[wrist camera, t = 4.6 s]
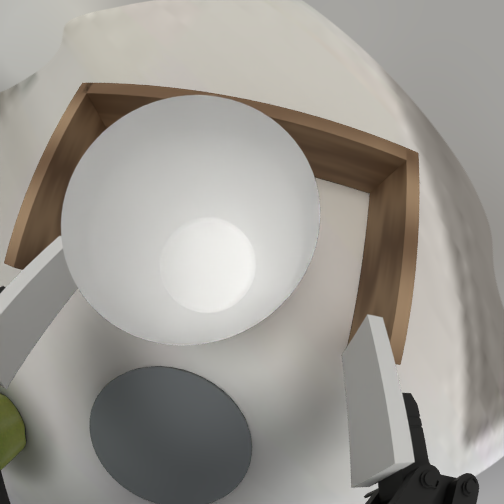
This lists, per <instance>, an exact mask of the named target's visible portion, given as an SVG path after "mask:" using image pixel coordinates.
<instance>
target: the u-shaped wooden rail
mask: <svg viewBox="0 0 504 504" xmlns="http://www.w3.org/2000/svg"><path fill="white" fill-rule="evenodd" d="M185 95H208V96H216V97H222V98H227V99H231V100H234V101H237V102H241V103H243V104H246V105H248V106H250V107H253V108H255V109H256V110H258V111H260V112H262V113H264V114H265V115H267V116H268V117H270V118H271V119H273V120H274V121H275V122H276V123H278V124H279V125H280V126H281V127H282V128H283V129H284V130H285V131H286V132H288V133H289V135H290V136H291V137H292V138H293V139H294V140H295V142H296V143H297V144H298V146H299V147H300V149H301V150H302V151H303V153H304V155H305V157H306V159H307V160H308V162H309V165H310V167H311V169H312V171H313V174H314V177H317V178H320V179H324V180H327V181H331V182H334V183H338V184H341V185H344V186H348V187H351V188H354V189H357V190H360V191H364V192H367V193H370V198H369V210H368V220H367V229H366V238H365V246H364V254H363V261H362V268H361V275H360V282H359V288H358V294H357V300H356V305H355V311H354V316H353V322H352V327H351V332H350V337H349V341H348V345H349V343H350V341H351V340H352V338H353V337H354V335H355V334H356V332H357V330H358V329H359V327H360V326H361V324H362V322H363V321H364V319H365V317H366V316H367V314H368V315H373V316H378V317H383V321H384V324H385V328H386V331H387V335H388V338H389V342H390V346H391V349H392V353H393V357H394V361H395V364H398V365H400V364H401V360H402V355H403V350H404V345H405V340H406V335H407V329H408V323H409V317H410V310H411V304H412V296H413V288H414V280H415V270H416V259H417V246H418V228H419V157H418V153H417V152H415V151H413V150H410V149H408V148H405V147H403V146H401V145H398V144H396V143H393V142H390V141H388V140H385V139H383V138H380V137H377V136H375V135H372V134H369V133H366V132H363V131H361V130H358V129H355V128H352V127H349V126H346V125H343V124H340V123H336V122H333V121H330V120H327V119H323V118H320V117H317V116H313V115H309V114H306V113H302V112H298V111H295V110H291V109H287V108H283V107H279V106H275V105H270V104H266V103H261V102H257V101H252V100H247V99H242V98H237V97H232V96H226V95H220V94H214V93H208V92H202V91H195V90H187V89H179V88H170V87H161V86H150V85H136V84H118V83H82V84H81V86H80V87H79V89H78V91H77V92H76V94H75V95H74V97H73V99H72V100H71V102H70V104H69V105H68V107H67V109H66V111H65V112H64V114H63V116H62V118H61V119H60V121H59V123H58V125H57V127H56V129H55V131H54V133H53V134H52V136H51V138H50V140H49V142H48V144H47V146H46V149H45V151H44V153H43V155H42V157H41V159H40V161H39V164H38V166H37V168H36V170H35V173H34V175H33V177H32V180H31V182H30V185H29V187H28V190H27V192H26V195H25V197H24V200H23V203H22V206H21V208H20V211H19V214H18V217H17V220H16V223H15V226H14V229H13V233H12V236H11V239H10V243H9V246H8V250H7V254H6V257H5V261H4V263H5V264H7V265H9V266H12V267H14V268H18V269H21V270H23V269H24V268H25V267H26V266H27V265H29V264H30V263H31V262H32V261H33V260H34V259H35V258H36V257H37V256H38V255H39V254H40V253H41V252H42V251H43V250H44V249H45V248H46V247H48V246H49V245H50V244H51V243H52V242H53V241H54V240H55V239H56V238H58V237H59V236H61V216H62V208H63V202H64V198H65V194H66V190H67V187H68V184H69V182H70V179H71V177H72V174H73V172H74V170H75V168H76V166H77V165H78V163H79V161H80V159H81V158H82V156H83V155H84V153H85V152H86V151H87V149H88V148H89V147H90V146H91V144H92V143H93V142H94V141H95V140H96V139H97V138H98V137H99V136H100V135H101V134H102V133H103V132H104V131H105V130H106V129H107V128H108V127H110V126H111V125H112V124H113V123H115V122H116V121H117V120H119V119H120V118H122V117H123V116H125V115H127V114H128V113H130V112H132V111H134V110H136V109H138V108H140V107H142V106H145V105H147V104H150V103H152V102H156V101H159V100H162V99H167V98H171V97H177V96H185Z"/></svg>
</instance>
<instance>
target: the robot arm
mask: <svg viewBox="0 0 504 504" xmlns="http://www.w3.org/2000/svg"><path fill="white" fill-rule="evenodd" d="M77 289H78V287H77V285H76V284H75V282H74V280H73V278H72V276H71V273H70V271H69V268H68V265H67V263H66V259H65V255H64V251H63V246H62V238H61V236H59V237H58V238H56V239H55V240H54V241H53V242H52V243H51V244H50V245H49V246H48V247H46V248H45V249H44V250H43V251H42V252H41V253H40V254H39V255H38V256H37V257H36V258H35V259H34V260H33V261H32V262H31V263H30V264H29V265H27V266H26V267H25V268H24V269H23V270H22V271H21V272H20V273H19V274H18V275H17V276H16V277H15V279H14V280H13V281H12V282H11V283H10V284H9V285H8V286H7V287H4V286H2V287H0V386H2V387H3V388H5V389H7V387H8V386H9V384H10V382H11V381H12V379H13V378H14V376H15V374H16V373H17V371H18V370H19V368H20V367H21V365H22V364H23V362H24V361H25V359H26V358H27V356H28V355H29V353H30V352H31V350H32V349H33V347H34V346H35V344H36V343H37V342H38V340H39V339H40V337H41V336H42V335H43V333H44V332H45V330H46V329H47V328H48V326H49V325H50V324H51V322H52V321H53V320H54V318H55V317H56V316H57V314H58V313H59V312H60V310H61V309H62V308H63V306H64V305H65V304H66V303H67V301H68V300H69V299H70V297H71V296H72V295H73V294H74V292H75V291H76V290H77ZM342 362H343V371H344V381H345V391H346V402H347V414H348V428H349V443H350V464H351V488H353V487H370V486H372V485H374V484H376V483H378V487H379V488H378V489H376V490H374V491H372V492H369V493H367V494H366V495H365V496H364V497H365V498H367V497H370V496H371V497H370V498H369V500H368V501H367V502H366V503H365V504H476V502H477V497H478V492H479V484H478V481H477V479H476V477H475V476H474V475H472V474H470V473H466V474H463V475H461V476H459V477H458V478H454V477H449V476H445V475H441V474H440V472H439V470H438V469H437V468H436V467H435V466H433V465H431V464H430V463H429V460H428V455H427V449H426V444H425V438H424V433H423V428H422V427H421V426H422V423H421V419H420V418H419V417H420V414H419V410H418V405H417V403H416V401H415V400H414V398H413V396H412V395H411V393H402V390H401V386H400V381H399V377H398V373H397V369H396V365H395V361H394V357H393V353H392V349H391V346H390V342H389V338H388V335H387V331H386V328H385V324H384V321H383V317H378V316H373V315H368V314H367V316H366V317H365V319H364V321H363V322H362V324H361V326H360V327H359V329H358V330H357V332H356V334H355V335H354V337H353V338H352V340H351V341H350V343H349V345H348V346H347V348H346V349H345V351H344V352H343V354H342ZM0 504H10V501H9V498H8V495H7V491H6V488H5V484H4V481H3V477H2V473H1V469H0Z"/></svg>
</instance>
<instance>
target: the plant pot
mask: <svg viewBox="0 0 504 504" xmlns="http://www.w3.org/2000/svg"><path fill="white" fill-rule="evenodd" d="M25 444H26V439H25V426H24V423H23V420H22V418H21V416H20V414H19V412H18V411H17V409H16V407H15V406H14V405H13V403H12V402H11V401H10V400H9V399H8V398H7V397H6V396H4V395H2V394H0V469H1V470H2V469H3V468H4V467H5V466H6V465H7V464H8V463H9V462H10V461H11V460H12V459H13V458H14V457H15V456H16V455H17V454H18V453H19V452H20V451H21V450H22V449H23V448H24V447H25Z"/></svg>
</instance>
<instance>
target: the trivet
mask: <svg viewBox="0 0 504 504" xmlns="http://www.w3.org/2000/svg"><path fill="white" fill-rule="evenodd" d="M90 435H91V440H92V444H93V447H94V449H95V452H96V454H97V456H98V458H99V460H100V462H101V463H102V465H103V466H104V468H105V469H106V470H107V472H108V473H109V474H110V475H111V476H112V477H113V478H114V479H115V480H116V481H117V482H118V483H119V484H120V485H122V486H123V487H124V488H126V489H127V490H129V491H130V492H132V493H133V494H135V495H137V496H139V497H141V498H143V499H145V500H148V501H151V502H154V503H157V504H209V503H211V502H214V501H216V500H219V499H221V498H223V497H224V496H226V495H227V494H229V493H230V492H231V491H232V490H233V489H235V488H236V487H237V486H238V484H239V483H240V482H241V481H242V479H243V478H244V476H245V474H246V473H247V470H248V467H249V465H250V460H251V455H252V444H251V437H250V432H249V429H248V425H247V423H246V421H245V418H244V416H243V414H242V413H241V411H240V410H239V408H238V407H237V405H236V404H235V403H234V402H233V400H232V399H231V398H230V397H229V396H228V395H227V394H226V393H225V392H224V391H222V390H221V389H220V388H218V387H217V386H216V385H215V384H213V383H211V382H210V381H208V380H206V379H205V378H203V377H200V376H198V375H196V374H194V373H191V372H188V371H185V370H182V369H177V368H172V367H162V366H155V367H144V368H138V369H135V370H132V371H129V372H127V373H125V374H122V375H120V376H119V377H117V378H115V379H114V380H112V381H111V382H110V383H109V384H108V385H106V386H105V387H104V388H103V390H102V391H101V392H100V393H99V395H98V397H97V398H96V400H95V402H94V405H93V407H92V410H91V416H90Z"/></svg>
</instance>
